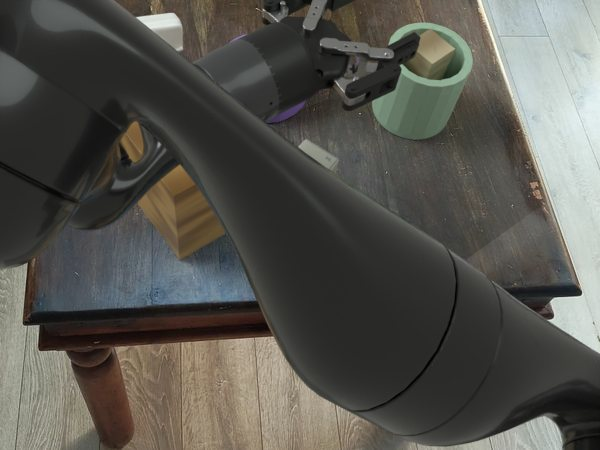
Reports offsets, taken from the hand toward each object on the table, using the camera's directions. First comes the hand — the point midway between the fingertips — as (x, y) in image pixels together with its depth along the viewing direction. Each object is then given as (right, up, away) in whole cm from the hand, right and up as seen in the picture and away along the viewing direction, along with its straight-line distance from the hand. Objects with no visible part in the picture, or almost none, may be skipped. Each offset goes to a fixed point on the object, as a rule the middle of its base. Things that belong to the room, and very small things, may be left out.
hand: (387, 13), depth 68 cm
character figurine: (-26, -4, +19) cm, 32 cm away
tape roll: (-13, -3, +21) cm, 25 cm away
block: (+6, -5, +22) cm, 23 cm away
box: (-9, -20, +12) cm, 25 cm away
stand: (-21, -18, +11) cm, 30 cm away
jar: (+6, -6, +22) cm, 23 cm away
